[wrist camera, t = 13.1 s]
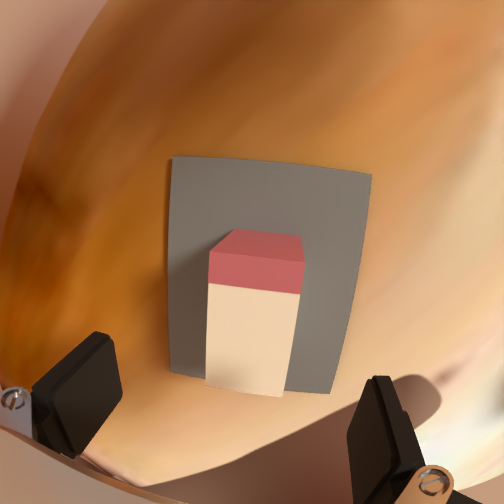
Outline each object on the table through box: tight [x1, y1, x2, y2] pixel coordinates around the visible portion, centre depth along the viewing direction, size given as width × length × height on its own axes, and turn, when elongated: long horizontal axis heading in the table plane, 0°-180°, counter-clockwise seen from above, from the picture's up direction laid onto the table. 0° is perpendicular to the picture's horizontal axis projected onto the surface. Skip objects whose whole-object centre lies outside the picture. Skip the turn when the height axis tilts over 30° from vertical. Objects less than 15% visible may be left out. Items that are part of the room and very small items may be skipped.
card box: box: [205, 229, 305, 397], centre depth 19 cm, size 8×4×7 cm, turn 175°
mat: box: [168, 156, 372, 394], centre depth 23 cm, size 14×18×1 cm
